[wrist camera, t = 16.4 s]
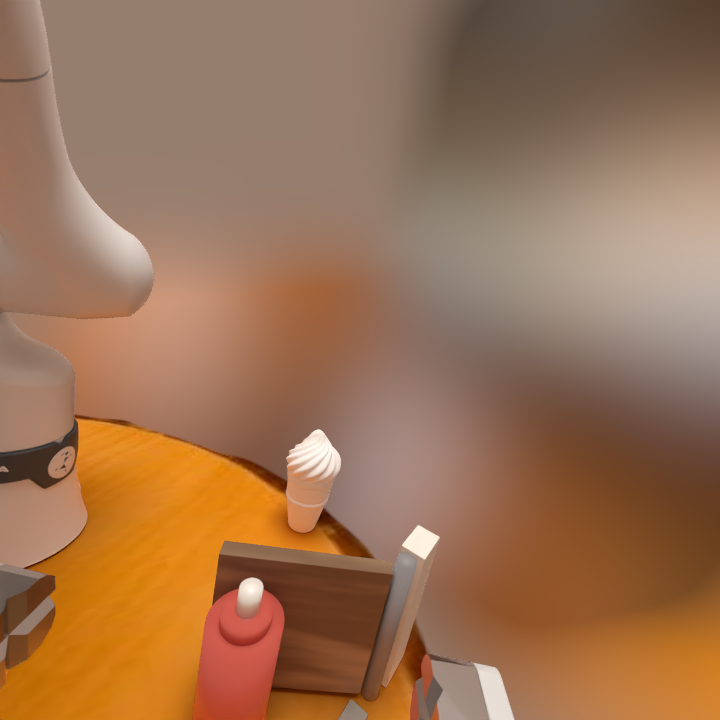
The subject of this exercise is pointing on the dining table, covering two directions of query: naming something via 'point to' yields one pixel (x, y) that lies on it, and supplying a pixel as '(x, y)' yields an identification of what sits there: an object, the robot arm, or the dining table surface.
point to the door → (314, 610)
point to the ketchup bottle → (239, 654)
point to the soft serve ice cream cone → (310, 480)
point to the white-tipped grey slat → (396, 616)
